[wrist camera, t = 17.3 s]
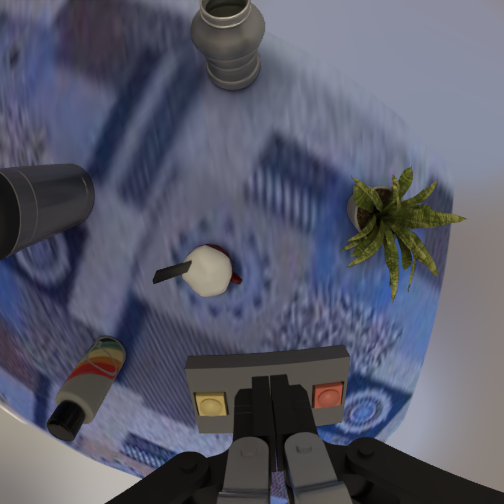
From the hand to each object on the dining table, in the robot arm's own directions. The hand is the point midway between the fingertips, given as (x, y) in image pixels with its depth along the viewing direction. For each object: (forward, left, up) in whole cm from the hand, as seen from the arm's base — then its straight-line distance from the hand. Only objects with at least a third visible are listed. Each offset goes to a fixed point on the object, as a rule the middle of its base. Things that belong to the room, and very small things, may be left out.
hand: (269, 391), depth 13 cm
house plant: (+14, +3, -31) cm, 34 cm away
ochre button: (-8, -25, -30) cm, 40 cm away
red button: (+10, -25, -30) cm, 40 cm away
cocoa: (-6, -3, -31) cm, 32 cm away
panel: (+1, -25, -31) cm, 40 cm away
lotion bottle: (-24, -17, -31) cm, 43 cm away
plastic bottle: (-1, +22, -31) cm, 38 cm away
